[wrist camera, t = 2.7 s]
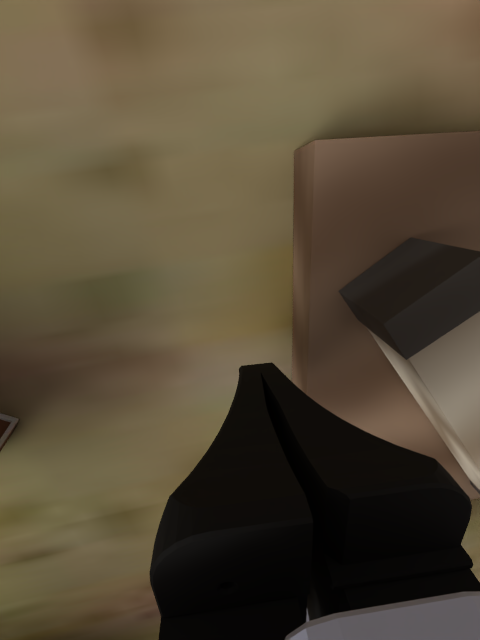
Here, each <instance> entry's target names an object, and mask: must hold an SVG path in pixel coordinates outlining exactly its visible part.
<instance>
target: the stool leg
mask: <svg viewBox="0 0 480 640" xmlns="http://www.w3.org/2000/svg"><path fill="white" fill-rule="evenodd" d="M338 292H339V293H340V295H341V296H342V297H343V299H344V300H345V302H346V303H347V305H348V306H349V308H350V309H351V311H352V312H353V314H354V315H355V316H356V318H357V319H358V320H359V321H360V322H361V323H362V324H363V325H365V326H366V327H367V329H368V330H369V332H370V333H371V335H372V336H373V338H374V339H375V341H376V342H377V343H378V345H379V346H380V348H381V349H382V351H383V352H384V354H385V355H386V357H387V358H388V360H389V361H390V363H391V364H392V366H393V367H394V369H395V370H396V372H397V373H398V374H399V376H400V377H401V379H402V380H403V382H404V383H405V385H406V386H407V388H408V389H409V391H410V392H411V394H412V395H413V397H414V398H415V400H416V401H417V402H418V404H419V405H420V407H421V408H422V410H423V411H424V413H425V414H426V416H427V417H428V419H429V420H430V422H431V423H432V425H433V426H434V428H435V429H436V431H437V432H438V433H439V435H440V436H441V438H442V439H443V441H444V442H445V444H446V445H447V447H448V448H449V450H450V451H451V453H452V454H453V456H454V457H455V459H456V460H457V461H458V463H459V464H460V466H461V467H462V469H463V470H464V472H465V473H466V475H467V476H468V478H469V479H470V484H471V485H472V487H473V488H474V489H475V490H476V491H477V492H478V493H479V494H480V251H475V250H470V249H465V248H461V247H456V246H451V245H446V244H441V243H436V242H431V241H426V240H421V239H416V238H411V237H410V238H409V239H408V240H406V241H405V242H404V243H402V244H401V245H400V246H398V247H397V248H396V249H394V250H393V251H392V252H390V253H389V254H388V255H386V256H385V257H384V258H382V259H381V260H380V261H378V262H377V263H376V264H374V265H373V266H372V267H370V268H369V269H367V270H366V271H365V272H363V273H362V274H361V275H359V276H358V277H357V278H355V279H354V280H353V281H351V282H350V283H349V284H347V285H346V286H345V287H343V288H342V289H341V290H339V291H338Z"/></svg>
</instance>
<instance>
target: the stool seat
mask: <svg viewBox="0 0 480 640" xmlns="http://www.w3.org/2000/svg"><path fill="white" fill-rule="evenodd" d="M410 237H411V238H416V239H421V240H426V241H431V242H436V243H441V244H446V245H451V246H456V247H461V248H465V249H470V250H475V251H480V131H466V132H449V133H431V134H414V135H396V136H378V137H361V138H343V139H326V140H314V141H312V142H310V143H309V144H307V145H305V146H303V147H301V148H299V149H297V150H295V151H294V229H293V346H292V382H293V383H294V384H295V385H296V386H297V387H298V388H299V389H300V390H302V391H303V392H304V393H305V394H306V395H308V396H309V397H310V398H311V399H313V400H314V401H315V402H317V403H318V404H319V405H321V406H322V407H324V408H325V409H327V410H328V411H330V412H332V413H333V414H335V415H336V416H338V417H340V418H341V419H343V420H345V421H347V422H348V423H350V424H352V425H354V426H356V427H358V428H360V429H362V430H364V431H366V432H368V433H370V434H372V435H374V436H376V437H379V438H381V439H383V440H386V441H388V442H390V443H393V444H395V445H398V446H400V447H403V448H406V449H409V450H412V451H415V452H417V453H420V454H423V455H426V456H429V457H432V458H435V459H436V460H437V461H438V462H439V463H440V464H441V465H442V466H443V467H444V468H445V469H446V470H447V472H448V473H449V474H450V475H451V476H452V477H453V478H454V480H455V481H456V482H457V483H458V484H459V486H460V487H461V488H462V489H463V490H464V492H465V493H466V494H467V495H468V496H469V498H470V499H477V498H480V494H479V493H478V492H477V491H476V490H475V489H474V488H473V487H472V485H471V484H470V479H469V478H468V476H467V475H466V473H465V472H464V470H463V469H462V467H461V466H460V464H459V463H458V461H457V460H456V459H455V457H454V456H453V454H452V453H451V451H450V450H449V448H448V447H447V445H446V444H445V442H444V441H443V439H442V438H441V436H440V435H439V433H438V432H437V431H436V429H435V428H434V426H433V425H432V423H431V422H430V420H429V419H428V417H427V416H426V414H425V413H424V411H423V410H422V408H421V407H420V405H419V404H418V402H417V401H416V400H415V398H414V397H413V395H412V394H411V392H410V391H409V389H408V388H407V386H406V385H405V383H404V382H403V380H402V379H401V377H400V376H399V374H398V373H397V372H396V370H395V369H394V367H393V366H392V364H391V363H390V361H389V360H388V358H387V357H386V355H385V354H384V352H383V351H382V349H381V348H380V346H379V345H378V343H377V342H376V341H375V339H374V338H373V336H372V335H371V333H370V332H369V330H368V329H367V327H366V326H365V325H363V324H362V323H361V322H360V321H359V320H358V319H357V318H356V316H355V315H354V314H353V312H352V311H351V309H350V308H349V306H348V305H347V303H346V302H345V300H344V299H343V297H342V296H341V295H340V293H339V292H338V291H339V290H341V289H342V288H343V287H345V286H346V285H347V284H349V283H350V282H351V281H353V280H354V279H355V278H357V277H358V276H359V275H361V274H362V273H363V272H365V271H366V270H367V269H369V268H370V267H372V266H373V265H374V264H376V263H377V262H378V261H380V260H381V259H382V258H384V257H385V256H386V255H388V254H389V253H390V252H392V251H393V250H394V249H396V248H397V247H398V246H400V245H401V244H402V243H404V242H405V241H406V240H408V239H409V238H410Z"/></svg>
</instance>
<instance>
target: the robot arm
mask: <svg viewBox="0 0 480 640" xmlns="http://www.w3.org/2000/svg"><path fill="white" fill-rule="evenodd" d="M471 509H472V506H471V502H470V498H469V496H468V495H467V494H466V493H465V492H464V490H463V489H462V488H461V487H460V486H459V484H458V483H457V482H456V481H455V480H454V478H453V477H452V476H451V475H450V474H449V473H448V472H447V470H446V469H445V468H444V467H443V466H442V465H441V464H440V463H439V462H438V461H437V460H436V459H435V458H432V457H429V456H426V455H423V454H420V453H417V452H415V451H412V450H409V449H406V448H403V447H400V446H398V445H395V444H393V443H390V442H388V441H386V440H383V439H381V438H379V437H376V436H374V435H372V434H370V433H368V432H366V431H364V430H362V429H360V428H358V427H356V426H354V425H352V424H350V423H348V422H347V421H345V420H343V419H341V418H340V417H338V416H336V415H335V414H333V413H332V412H330V411H328V410H327V409H325V408H324V407H322V406H321V405H319V404H318V403H317V402H315V401H314V400H313V399H311V398H310V397H309V396H308V395H306V394H305V393H304V392H303V391H302V390H300V389H299V388H298V387H297V386H296V385H295V384H294V383H293V382H291V381H290V380H289V379H288V378H287V377H286V376H285V375H284V374H283V373H282V372H281V371H280V370H279V369H278V368H277V367H276V366H275V365H274V364H273V363H264V364H255V365H245V366H241V367H240V368H239V381H238V386H237V389H236V393H235V397H234V400H233V402H232V405H231V407H230V410H229V413H228V415H227V417H226V419H225V421H224V423H223V425H222V427H221V429H220V431H219V433H218V434H217V436H216V438H215V440H214V441H213V443H212V445H211V446H210V448H209V449H208V451H207V452H206V453H205V455H204V456H203V457H202V459H201V460H200V461H199V463H198V464H197V466H196V467H195V468H194V470H193V471H192V472H191V473H190V474H189V476H188V477H187V478H186V479H185V480H184V481H183V482H182V483H181V484H180V486H179V487H178V488H177V489H176V490H175V491H174V492H173V493H172V494H171V495H170V497H169V499H168V502H167V504H166V507H165V510H164V512H163V515H162V518H161V521H160V524H159V528H158V532H157V535H156V539H155V543H154V549H153V555H152V562H151V568H150V582H151V586H152V589H153V592H154V596H155V599H156V602H157V605H158V608H159V611H160V614H161V624H160V633H159V640H480V582H479V581H478V580H477V578H476V577H475V575H474V574H473V573H472V571H471V570H470V568H472V566H473V562H472V559H471V558H470V557H469V555H468V554H467V553H466V551H465V550H464V548H463V547H462V546H461V542H462V539H463V536H464V534H465V531H466V528H467V526H468V523H469V520H470V515H471Z"/></svg>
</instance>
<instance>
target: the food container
mask: <svg viewBox="0 0 480 640" xmlns="http://www.w3.org/2000/svg"><path fill="white" fill-rule="evenodd" d="M18 421H19V419H18V418H15V417H11V416H8V415H5V414H1V413H0V451H1V450H2V448H3V446H4V445H5V443H6V442H7V440H8V439H9V437H10V436H11V434H12V433H13V431H14V429H15V427H16V425H17V423H18Z"/></svg>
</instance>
